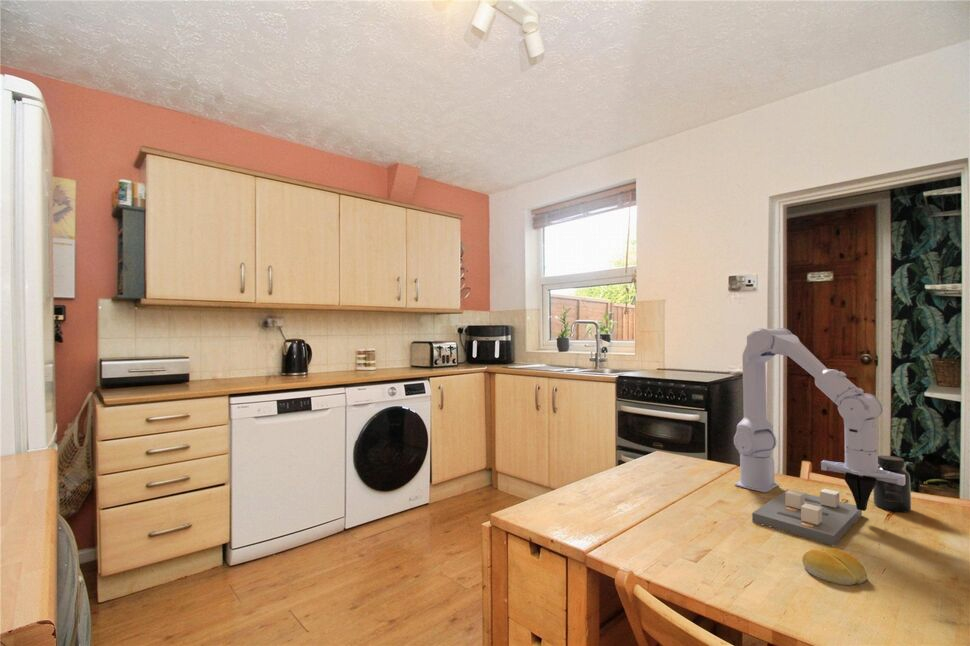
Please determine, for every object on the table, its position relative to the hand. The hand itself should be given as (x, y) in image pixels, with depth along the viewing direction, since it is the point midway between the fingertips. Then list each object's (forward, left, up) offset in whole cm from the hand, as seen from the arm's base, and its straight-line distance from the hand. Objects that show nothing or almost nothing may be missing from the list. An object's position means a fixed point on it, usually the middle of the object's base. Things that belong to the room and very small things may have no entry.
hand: (861, 509), depth 102 cm
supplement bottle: (-16, +3, -3) cm, 17 cm away
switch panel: (+7, -8, -3) cm, 11 cm away
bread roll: (+31, +2, -3) cm, 31 cm away
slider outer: (+14, -6, -1) cm, 15 cm away
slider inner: (0, -6, -1) cm, 6 cm away
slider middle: (+7, -11, -1) cm, 13 cm away
